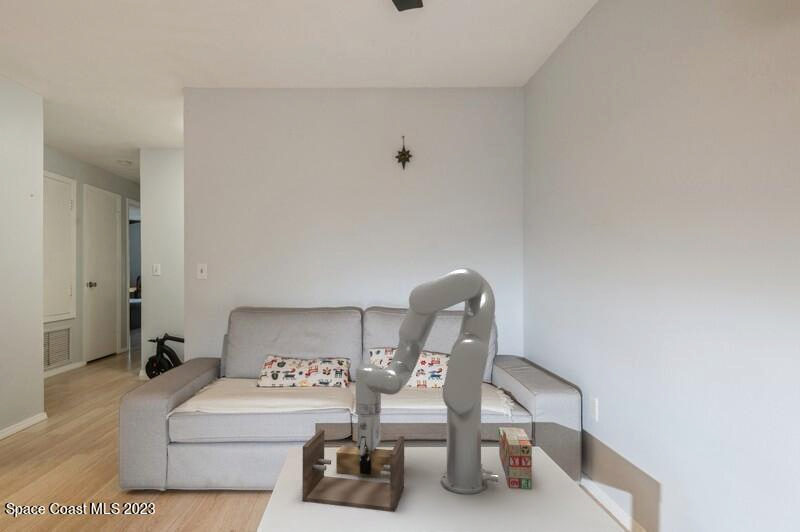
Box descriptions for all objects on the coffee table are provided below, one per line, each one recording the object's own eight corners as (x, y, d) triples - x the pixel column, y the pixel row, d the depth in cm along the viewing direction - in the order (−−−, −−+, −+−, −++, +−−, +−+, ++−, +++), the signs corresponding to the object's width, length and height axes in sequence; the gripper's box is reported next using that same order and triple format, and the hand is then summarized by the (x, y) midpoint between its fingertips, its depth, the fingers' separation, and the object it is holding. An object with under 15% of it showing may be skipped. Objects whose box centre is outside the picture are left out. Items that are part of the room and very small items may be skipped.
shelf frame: (404, 487, 118) (404, 436, 118) (394, 511, 106) (394, 454, 106) (320, 479, 123) (320, 429, 123) (302, 501, 111) (302, 446, 111)
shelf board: (399, 471, 128) (399, 450, 128) (396, 478, 123) (396, 457, 123) (342, 465, 131) (342, 445, 132) (336, 473, 127) (336, 452, 127)
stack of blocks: (498, 455, 139) (498, 417, 139) (518, 456, 138) (518, 418, 139) (508, 489, 118) (508, 443, 118) (532, 490, 117) (532, 444, 117)
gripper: (372, 417, 118) (372, 484, 118) (387, 399, 135) (387, 458, 135) (346, 415, 120) (346, 481, 120) (364, 398, 137) (364, 456, 136)
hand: (368, 468), depth 127 cm, fingers closed on shelf board, 5 cm apart
